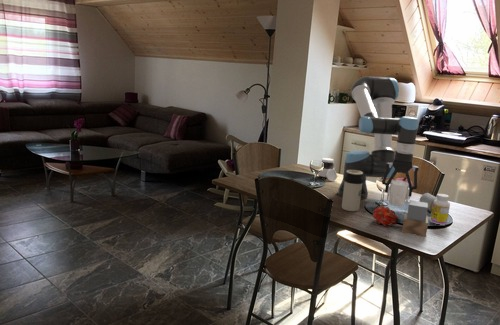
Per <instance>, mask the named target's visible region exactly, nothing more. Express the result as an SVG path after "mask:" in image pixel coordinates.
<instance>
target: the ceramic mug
mask: <svg viewBox="0 0 500 325" xmlns="http://www.w3.org/2000/svg"><path fill="white" fill-rule="evenodd" d="M436 199H437V196H435V195H432V194H431V193H429V192H425V193H423V194H422V195H421V196H420V197H419V200H418V201H419V202H425V203H428V210H429V211H428V210H427V211H428V212H430V211H431V213H432V208H433V202H434V200H436Z"/></svg>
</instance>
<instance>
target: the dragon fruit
mask: <svg viewBox="0 0 500 325" xmlns="http://www.w3.org/2000/svg"><path fill="white" fill-rule="evenodd" d="M372 213H373V214H371V216H372V218H373V219H375V220H376V223H377V225H380V224H381V225H383V226H384V227H387V228H392V226H391V225H397V224H398V223H397V222H400V218H399V216H398V215H396V212H395V211H394V210H391V208H390V207H388V206H385V205H380V206H379V205H378V206H377V207H376V208H375V209H373V212H372Z"/></svg>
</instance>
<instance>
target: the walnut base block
mask: <svg viewBox="0 0 500 325" xmlns="http://www.w3.org/2000/svg"><path fill="white" fill-rule="evenodd" d="M407 214H408V212H404V215H403V222H402V229H401V230H402V231H401V233H403V234H408V235H413V236H420V237H424V238H426V237H427V233H428V226H429V217H428V216H426V222H423V221H417V220H411V219H407Z"/></svg>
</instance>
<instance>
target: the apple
mask: <svg viewBox="0 0 500 325" xmlns="http://www.w3.org/2000/svg"><path fill="white" fill-rule="evenodd" d="M394 180H399V181H404V182H407V183H408V181H407V177H398V178H397V177H396V178H394ZM411 183H412V186H414V182H413V181H412V180H411ZM408 188H409V187H408Z"/></svg>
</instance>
